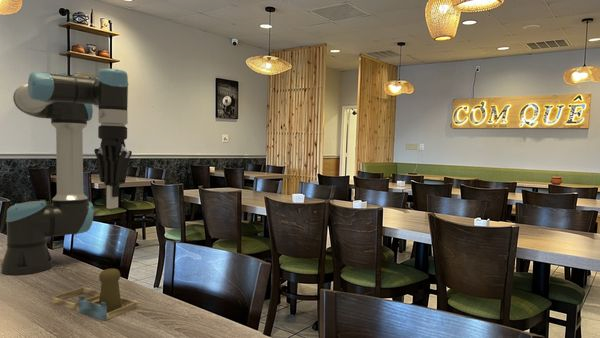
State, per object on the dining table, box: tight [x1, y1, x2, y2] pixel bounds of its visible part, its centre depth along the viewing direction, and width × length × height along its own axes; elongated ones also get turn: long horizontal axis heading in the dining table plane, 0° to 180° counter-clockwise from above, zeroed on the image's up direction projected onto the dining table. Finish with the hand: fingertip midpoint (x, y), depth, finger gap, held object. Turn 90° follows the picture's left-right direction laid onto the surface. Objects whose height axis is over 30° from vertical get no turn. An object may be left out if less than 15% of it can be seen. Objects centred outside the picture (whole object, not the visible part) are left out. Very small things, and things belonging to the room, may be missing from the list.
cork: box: [98, 268, 123, 313], centre depth 115 cm, size 6×6×11 cm
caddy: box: [49, 286, 139, 321], centre depth 118 cm, size 23×11×4 cm, turn 63°
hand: (112, 207), depth 121 cm, fingers closed
